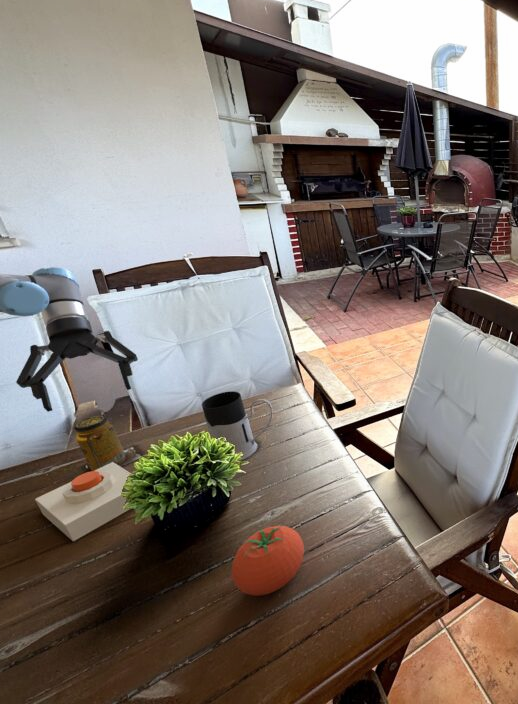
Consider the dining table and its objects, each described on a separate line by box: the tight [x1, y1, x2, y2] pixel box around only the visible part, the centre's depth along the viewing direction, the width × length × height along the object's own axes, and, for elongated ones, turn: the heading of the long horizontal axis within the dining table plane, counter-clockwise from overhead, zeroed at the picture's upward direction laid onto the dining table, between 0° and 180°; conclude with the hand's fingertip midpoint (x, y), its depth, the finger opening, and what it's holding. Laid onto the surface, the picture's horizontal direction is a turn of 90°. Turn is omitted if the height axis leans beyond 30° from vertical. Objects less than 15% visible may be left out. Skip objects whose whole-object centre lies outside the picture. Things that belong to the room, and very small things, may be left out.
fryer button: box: [70, 470, 102, 492], centre depth 80 cm, size 4×4×2 cm
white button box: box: [34, 462, 132, 542], centre depth 81 cm, size 14×12×6 cm
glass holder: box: [201, 390, 274, 461], centre depth 96 cm, size 9×14×15 cm, turn 105°
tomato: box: [231, 525, 305, 597], centre depth 66 cm, size 10×10×10 cm
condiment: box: [74, 415, 142, 471], centre depth 92 cm, size 7×8×12 cm
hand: (90, 398), depth 95 cm, fingers open, 13 cm apart
